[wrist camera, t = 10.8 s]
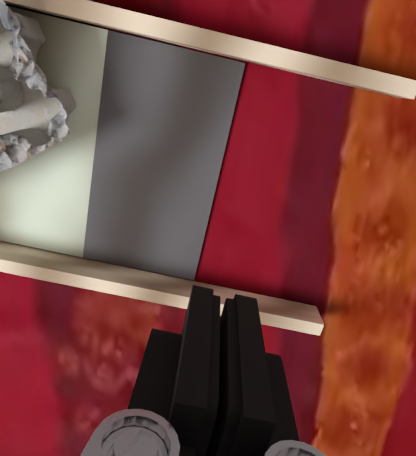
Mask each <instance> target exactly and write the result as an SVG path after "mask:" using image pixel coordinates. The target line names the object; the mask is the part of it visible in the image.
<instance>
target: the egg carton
mask: <svg viewBox="0 0 416 456" xmlns="http://www.w3.org/2000/svg"><path fill="white" fill-rule="evenodd" d="M44 41H45V36H44V34H43V32H42V30H41V28H40V25H39V23H38V21H37V20H36V19H34V18H30V17H27V16H24V15H21V14H18V13H14V12H12V11H11V10H10V9H9V8H8V6H7V5H6V4H5V2H4V1H3V0H0V171H3V170H6V169H9V168H12V167H14V166H15V165H17V164H19V163H21V162H23V161H25V160H27V159H29V158H31V157H33V156H34V155H36V154H38V153H40V152H42V151H43V150H45V149H46V148H48V147H50V146H52V145H55V144H57V143H59V142H61V141H63V139H62V138H63V137H65V136H66V135H68V134H70V133H72V130H70V129H69V128H68V126H67V120H68V117H69V115H70V114H71V113H72V112H73V110H74V109H75V107H76V106H77V105H76V103H75V100H74V98H73V96H72V94H71V91H70V89H69V88H55V87H52V86H51V85H49V84H48V83H47V80H46V77H45V74H44V73H43V71H42V70H41V69H40V67H39V66H38V65H37V64H36V59H37V52H38V49H39V47H40V46H41V45H42V44H43V43H44ZM60 109H61V111H60Z"/></svg>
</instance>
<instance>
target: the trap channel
mask: <svg viewBox="0 0 416 456" xmlns="http://www.w3.org/2000/svg"><path fill="white" fill-rule="evenodd" d="M3 1H4V2H5V3H7V4H11V5H15V6H19V7H23V8H28V9H32V10H36V11H40V12H44V13H48V14H52V15H57V16H61V17H65V18H69V19H73V20H77V21H82V22H86V23H90V24H94V25H98V26H102V27H106V28H111V29H115V30H119V31H123V32H127V33H131V34H136V35H140V36H144V37H148V38H152V39H156V40H160V41H165V42H169V43H173V44H177V45H181V46H185V47H190V48H194V49H198V50H202V51H206V52H210V53H214V54H219V55H223V56H227V57H231V58H235V59H239V60H244V61H248V62H252V63H256V64H260V65H264V66H268V67H273V68H277V69H281V70H285V71H289V72H293V73H297V74H302V75H306V76H310V77H314V78H318V79H322V80H327V81H331V82H335V83H339V84H343V85H347V86H351V87H356V88H360V89H364V90H368V91H372V92H376V93H381V94H385V95H389V96H393V97H398V98H406V99H414V98H415V95H416V80H412V79H408V78H404V77H400V76H396V75H392V74H387V73H383V72H379V71H375V70H371V69H367V68H363V67H359V66H355V65H351V64H346V63H342V62H338V61H334V60H330V59H326V58H322V57H318V56H314V55H310V54H306V53H301V52H297V51H293V50H289V49H285V48H281V47H277V46H273V45H269V44H265V43H260V42H256V41H252V40H248V39H244V38H240V37H236V36H232V35H228V34H224V33H220V32H215V31H211V30H207V29H203V28H199V27H195V26H191V25H187V24H183V23H179V22H174V21H170V20H166V19H162V18H158V17H154V16H150V15H146V14H142V13H138V12H134V11H129V10H125V9H121V8H117V7H113V6H109V5H105V4H101V3H97V2H93V1H89V0H3ZM8 8H9V9H10V10H11V11H12V12H14V13H18V14H21V15H24V16H27V17H30V18H34V19H36V20H37V21H38V23H39V25H40V28H41V30H42V32H43V34H44V36H45V41H44V43H43V44H42V45H41V46H40V47H39V49H38V52H37V59H36V64H37V65H38V66H39V67H40V69H41V70H42V71H43V73H44V74H45V77H46V80H47V83H48V84H49V85H51V86H52V87H55V88H69V89H70V91H71V94H72V96H73V98H74V100H75V103H76V105H77V106H76V107H75V109H74V110H73V112H72V113H71V114H70V115H69V117H68V120H67V126H68V128H69V129H70V130H72V133H70V134H68V135H66V136H65V137H63V138H62V139H63V141H61V142H59V143H57V144H55V145H52V146H50V147H48V148H46V149H45V150H43V151H42V152H40V153H38V154H36V155H34V156H33V157H31V158H29V159H27V160H25V161H23V162H21V163H19V164H17V165H15V166H14V167H12V168H9V169H6V170H3V171H0V272H5V273H10V274H15V275H20V276H25V277H30V278H35V279H40V280H45V281H50V282H55V283H60V284H65V285H70V286H75V287H80V288H85V289H90V290H95V291H99V292H104V293H109V294H114V295H119V296H124V297H129V298H134V299H139V300H144V301H149V302H154V303H159V304H164V305H169V306H174V307H179V308H184V309H187V307H188V303H189V299H190V294H191V290H192V286H193V285H197V286H201V287H206V288H211V289H214V292H213V295H217V296H220V297H221V302H220V316H221V314H222V311H223V307H224V303H225V300H226V298H230V299H233V298H234V296H235V294H238V295H243V296H247V297H252V298H256V299H257V302H258V309H259V315H260V321H261V324H264V325H269V326H274V327H279V328H284V329H289V330H294V331H299V332H304V333H309V334H314V335H319V336H320V334H321V331H322V329H323V326H324V323H323V321H322V319H321V316H320V314H319V312H318V309H317V307H316V306H313V305H308V304H304V303H299V302H294V301H289V300H284V299H279V298H274V297H269V296H265V295H260V294H255V293H250V292H245V291H240V290H235V289H230V288H226V287H221V286H216V285H211V284H206V283H201V282H196V281H191V280H194V279H195V275H196V270H197V266H198V262H199V258H200V254H201V249H202V245H203V241H204V237H205V232H206V228H207V224H208V220H209V215H210V211H211V207H212V203H213V198H214V194H215V190H216V186H217V182H218V177H219V173H220V169H221V165H222V160H223V156H224V152H225V148H226V143H227V139H228V135H229V131H230V126H231V122H232V118H233V114H234V110H235V105H236V101H237V97H238V93H239V88H240V84H241V80H242V76H243V71H244V67H245V63H243V62H239V61H235V60H230V59H226V58H222V57H218V56H214V55H210V54H206V53H201V52H197V51H193V50H189V49H185V48H181V47H176V46H172V45H168V44H164V43H160V42H156V41H151V40H147V39H143V38H139V37H135V36H131V35H127V34H122V33H118V32H114V31H110V30H106V29H102V28H97V27H93V26H89V25H85V24H81V23H77V22H72V21H68V20H64V19H60V18H56V17H52V16H47V15H43V14H39V13H35V12H31V11H27V10H23V9H18V8H14V7H10V6H8ZM60 111H61V109H60ZM1 241H5V242H1ZM6 242H9V243H6ZM11 243H14V244H11ZM16 244H19V245H16ZM21 245H24V246H21ZM26 246H29V247H26ZM31 247H34V248H31ZM36 248H39V249H36ZM40 249H44V250H40ZM45 250H48V251H45ZM50 251H53V252H50ZM55 252H58V253H55ZM60 253H63V254H60ZM65 254H68V255H65ZM70 255H73V256H70ZM74 256H78V257H74ZM79 257H82V258H79ZM84 258H87V259H84ZM89 259H92V260H89ZM94 260H97V261H94ZM99 261H102V262H99ZM104 262H107V263H104ZM109 263H112V264H109ZM113 264H117V265H113ZM118 265H121V266H118ZM123 266H126V267H123ZM128 267H131V268H128ZM133 268H136V269H133ZM138 269H141V270H138ZM143 270H146V271H143ZM148 271H151V272H148ZM152 272H156V273H152ZM157 273H160V274H157ZM162 274H165V275H162ZM167 275H170V276H167ZM172 276H175V277H172ZM177 277H180V278H177ZM182 278H185V279H182ZM187 279H190V280H187Z"/></svg>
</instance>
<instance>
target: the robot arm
mask: <svg viewBox="0 0 416 456" xmlns="http://www.w3.org/2000/svg"><path fill="white" fill-rule="evenodd" d="M213 292H214V289H211V288H206V287H201V286H197V285H193V286H192V290H191V294H190V299H189V303H188V307H187V311H186V316H185V320H184V324H183V329H182V333H181V334H176V333H171V332H167V331H162V330H157V329H153V328H152V331H151V334H150V337H149V340H148V343H147V347H146V350H145V353H144V357H143V360H142V363H141V366H140V370H139V373H138V376H137V380H136V383H135V386H134V389H133V393H132V396H131V399H130V403H129V406H128V409H126V410H122V411H119V412H116V413H113V414H112V415H110V416H109V417H107V418H106V419H104V420H103V421H102V422H101V424H100V425H99V426H98V427H97V429H96V430H95V431H94V433H93V435H92V437H91V438H90V440H89V442H88V444H87V445H86V447H85V449H84V450H83V452H82V454H81V456H326V455H325V454H323V453H322V452H320V451H319V450H318V449H316V448H315V447H312V446H310V445H308V444H306V443H304V442H299V437H298V432H297V428H296V423H295V418H294V414H293V409H292V404H291V400H290V395H289V390H288V386H287V381H286V376H285V372H284V367H283V362H282V359H281V357H280V356H279V355H275V354H271V353H266V352H265V347H264V340H263V334H262V328H261V321H260V315H259V309H258V302H257V299H256V298H252V297H247V296H243V295H238V294H235V296H234V298H233V299H230V298H226V300H225V303H224V307H223V311H222V314H221V318H220V302H221V297H220V296H217V295H213Z"/></svg>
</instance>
